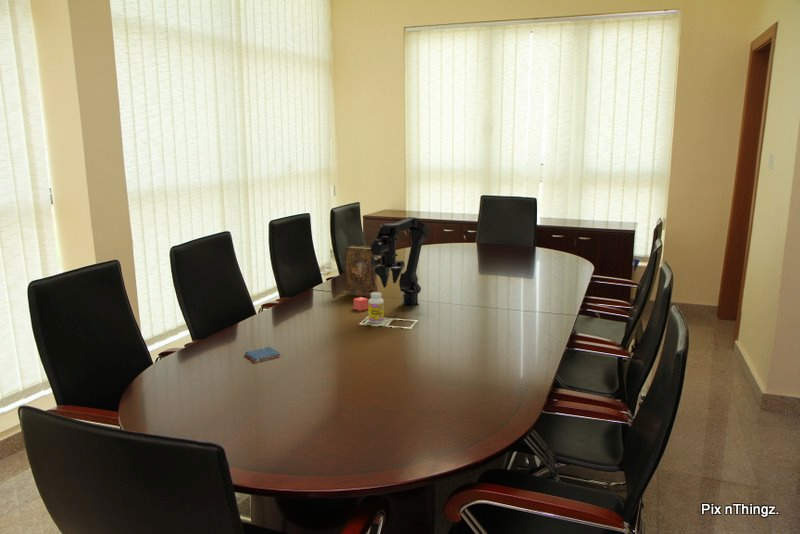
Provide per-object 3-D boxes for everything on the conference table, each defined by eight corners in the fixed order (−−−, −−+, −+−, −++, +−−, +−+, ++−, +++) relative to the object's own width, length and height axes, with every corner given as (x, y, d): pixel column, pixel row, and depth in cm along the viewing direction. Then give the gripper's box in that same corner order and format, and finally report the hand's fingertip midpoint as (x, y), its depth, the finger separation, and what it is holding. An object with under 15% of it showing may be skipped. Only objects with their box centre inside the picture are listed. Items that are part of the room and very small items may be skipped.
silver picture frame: (418, 321, 268) (418, 320, 268) (410, 329, 257) (410, 328, 257) (368, 317, 275) (368, 316, 275) (359, 324, 264) (359, 323, 264)
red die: (362, 307, 291) (362, 295, 290) (368, 309, 288) (368, 297, 287) (353, 308, 288) (353, 297, 287) (359, 311, 285) (359, 299, 283)
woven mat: (243, 356, 228) (243, 351, 228) (269, 350, 234) (269, 345, 234) (254, 364, 220) (254, 359, 219) (281, 358, 226) (281, 353, 225)
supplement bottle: (369, 324, 264) (368, 295, 262) (368, 319, 271) (367, 291, 268) (384, 323, 265) (384, 294, 262) (383, 319, 272) (382, 291, 269)
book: (379, 295, 313) (378, 247, 308) (375, 297, 308) (374, 249, 303) (350, 292, 319) (349, 245, 314) (346, 294, 314) (344, 247, 309)
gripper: (384, 247, 288) (384, 279, 291) (363, 253, 272) (364, 287, 275) (405, 249, 283) (405, 281, 286) (385, 255, 267) (385, 290, 270)
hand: (389, 285), depth 280 cm, fingers open, 9 cm apart
